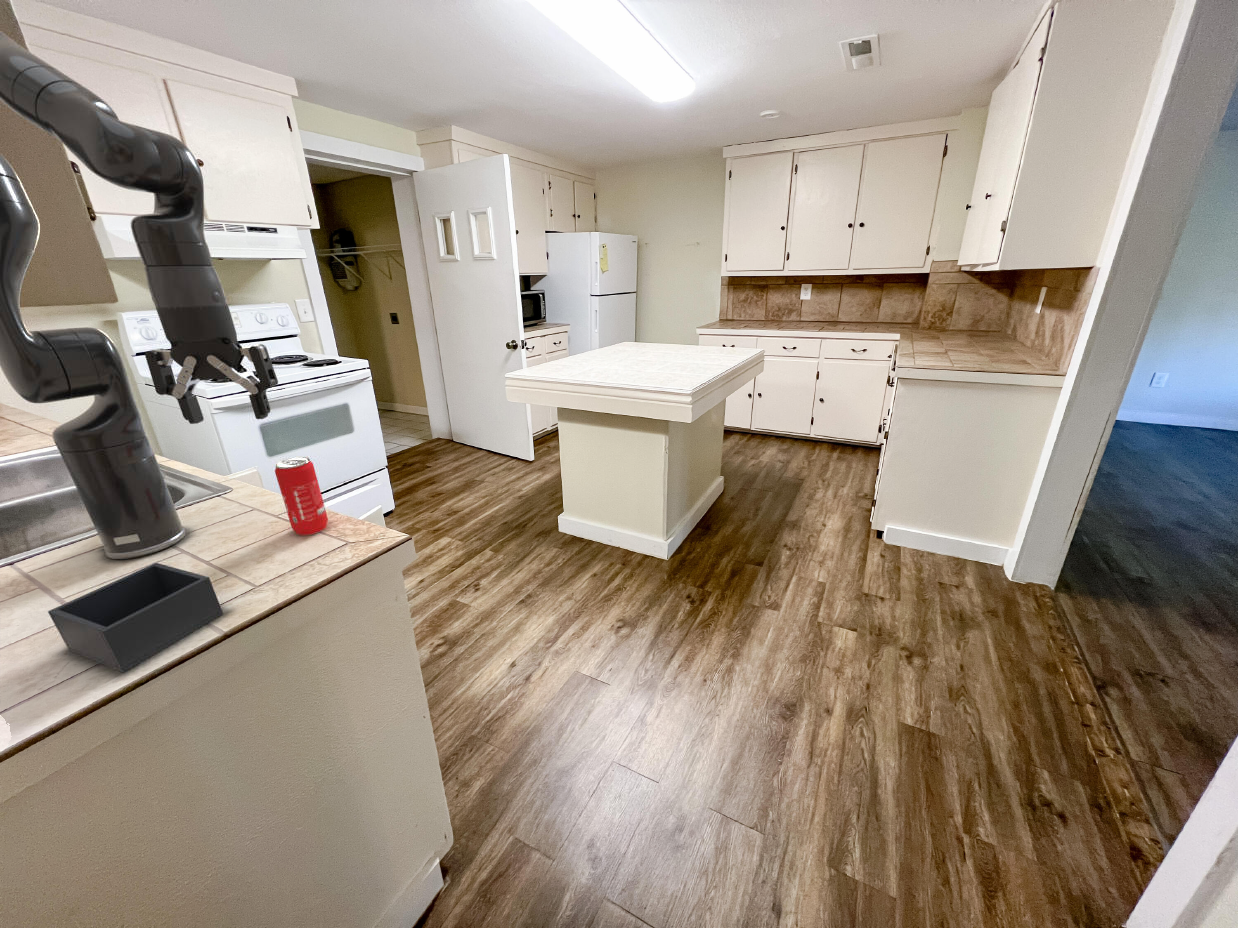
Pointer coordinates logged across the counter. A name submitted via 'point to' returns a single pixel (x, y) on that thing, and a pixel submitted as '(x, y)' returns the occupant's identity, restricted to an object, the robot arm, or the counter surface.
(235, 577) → the counter surface
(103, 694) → the counter surface
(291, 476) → the beverage can
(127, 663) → the bin
